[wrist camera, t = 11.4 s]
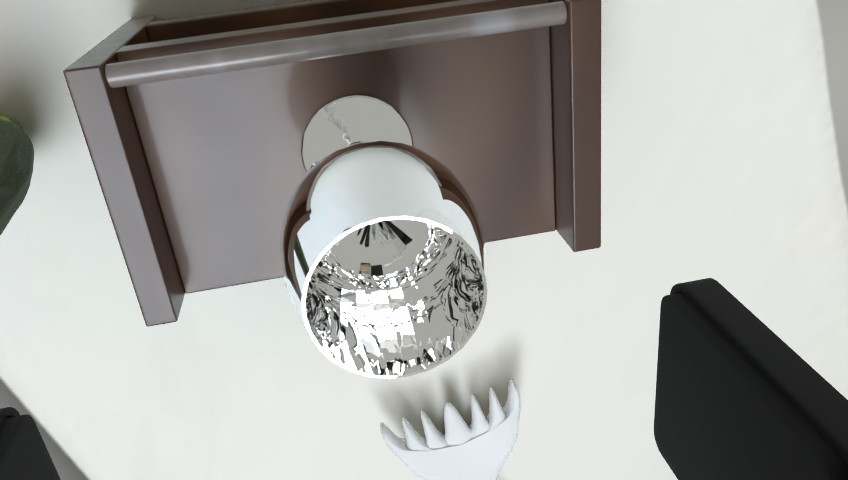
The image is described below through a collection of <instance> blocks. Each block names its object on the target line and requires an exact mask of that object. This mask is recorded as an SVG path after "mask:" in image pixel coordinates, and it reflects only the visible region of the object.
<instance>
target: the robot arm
mask: <svg viewBox="0 0 848 480" xmlns="http://www.w3.org/2000/svg"><path fill="white" fill-rule="evenodd" d="M654 435H655V440H656V444H657V446H658V449H659V451H660V453H661V454H662V456H663V457H664V459H665V460H666V462H667V464H668V465H669V467H670V468H671V470H672V471H673V473H674V474H675V476H676V477H677V479H678V480H848V400H847V399H846V398H845V397H844V396H842V395H841V394H840V393H839V392H838V391H837V390H836V389H835V388H834V387H833V386H832V385H830V384H829V383H828V382H827V381H826V380H825V379H824V378H823V377H822V376H821V375H819V374H818V373H817V372H816V371H815V370H814V369H813V368H812V367H811V366H810V365H808V364H807V363H806V362H805V361H804V360H803V359H802V358H801V357H800V356H799V355H797V354H796V353H795V352H794V351H793V350H792V349H791V348H790V347H789V346H788V345H787V344H785V343H784V342H783V341H782V340H781V339H780V338H779V337H778V336H777V335H776V334H774V333H773V332H772V331H771V330H770V329H769V328H768V327H767V326H766V325H765V324H763V323H762V322H761V321H760V320H759V319H758V318H757V317H756V316H755V315H754V314H753V313H751V312H750V311H749V310H748V309H747V308H746V307H745V306H744V305H743V304H742V303H740V302H739V301H738V300H737V299H736V298H735V297H734V296H733V295H732V294H731V293H729V292H728V291H727V290H726V289H725V288H724V287H723V286H722V285H721V284H720V283H719V282H717V281H716V280H714V279H712V278H707V279H702V280H696V281H691V282H686V283H680V284H676V285H674V286H673V288H672V290H671V293H670V295H667V296H664V297H663V299H662V301H661V312H660V329H659V347H658V364H657V382H656V400H655V417H654ZM0 480H60V477H59V475H58V473H57V471H56V469H55V466H54V464H53V462H52V460H51V457H50V455H49V453H48V451H47V448H46V446H45V444H44V441H43V439H42V437H41V435H40V432H39V430H38V428H37V426H36V423H35V422H34V420H33V418H32V417H31V416H30V415H21V416H20V414H19V412H18V411H17V410H16V409H14V408H11V407H7V408H3V409H0Z"/></svg>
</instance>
